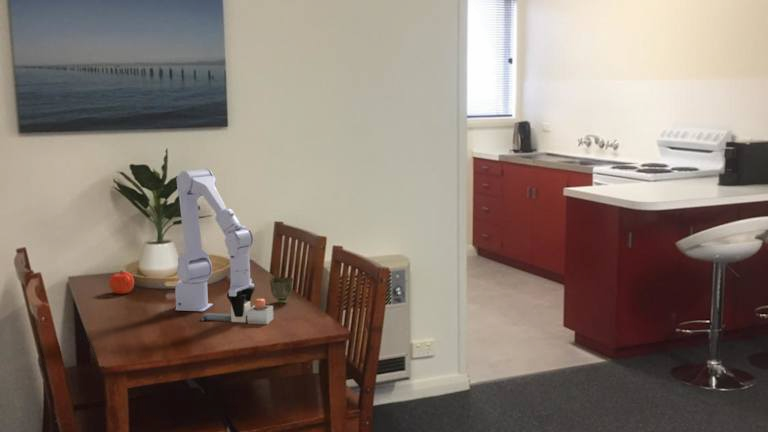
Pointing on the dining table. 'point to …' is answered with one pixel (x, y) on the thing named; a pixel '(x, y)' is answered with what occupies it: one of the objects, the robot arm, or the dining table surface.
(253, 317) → the button housing
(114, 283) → the apple
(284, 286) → the cup
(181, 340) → the dining table surface
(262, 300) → the button
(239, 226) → the robot arm
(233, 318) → the block
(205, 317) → the rail
